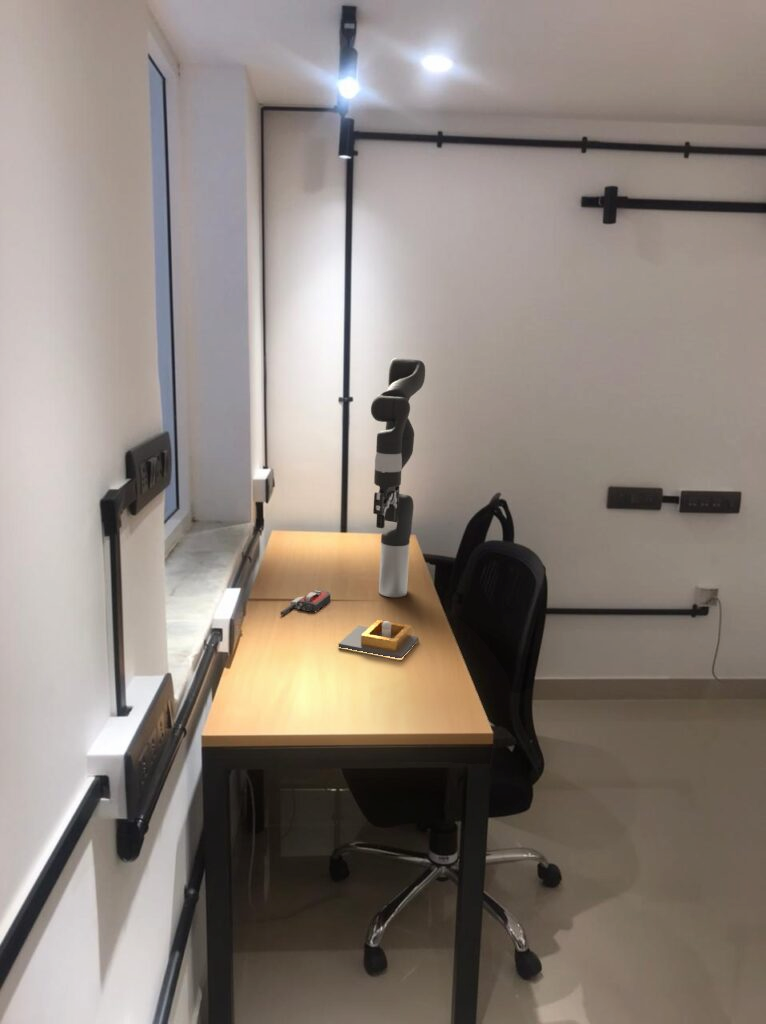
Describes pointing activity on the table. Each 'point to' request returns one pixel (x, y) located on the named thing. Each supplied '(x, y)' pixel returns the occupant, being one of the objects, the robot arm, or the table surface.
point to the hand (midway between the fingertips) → (385, 524)
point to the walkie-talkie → (310, 601)
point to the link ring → (389, 644)
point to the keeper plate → (355, 644)
